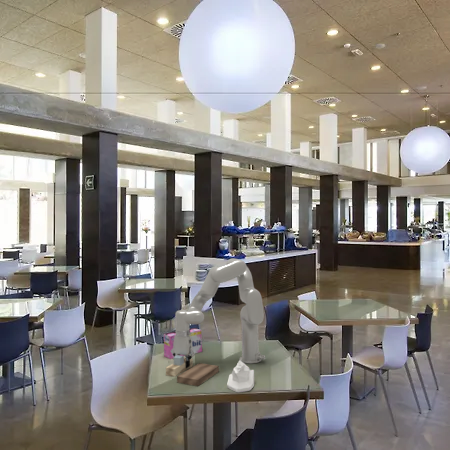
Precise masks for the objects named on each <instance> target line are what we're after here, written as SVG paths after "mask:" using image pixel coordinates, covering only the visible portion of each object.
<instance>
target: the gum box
mask: <svg viewBox="0 0 450 450" xmlns="http://www.w3.org/2000/svg"><path fill="white" fill-rule="evenodd" d="M189 330H190V332H191V335H190V336H191V339H192V347H193V352H194V353H195V354H199V353H202V352H203V337H202V336H203V335H202V333H203V332H202V329H198V328H197V327H193V328H189ZM175 335H176V331H171V332H166V333H163V354H164V355H163V356H164V357H165V358H168V359H169V360H172V359H174V356H173V354H172V353H171V350H172V349H173V344H174V337H175ZM189 354H190V353H189ZM190 355H191V354H190ZM181 356H184V357H185V355H181Z"/></svg>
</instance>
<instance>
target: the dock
mask: <svg viewBox="0 0 450 450" xmlns="http://www.w3.org/2000/svg"><path fill="white" fill-rule="evenodd" d="M219 372H220V367H219V365H215V364H207V363H202V362H199V363H196V364H195V365H193V366H192V367H190V368H188V369H187V370H185V371H183V372H182V373H180V374H178V375H177V376H176V383H178V384H184V385H191V386H195V387H199V386H201V385H202V384H203V383H205V382H206V381H207V380H210V378H212V377H213V376H215V375H216V374H218V373H219Z"/></svg>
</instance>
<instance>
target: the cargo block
mask: <svg viewBox="0 0 450 450" xmlns="http://www.w3.org/2000/svg"><path fill="white" fill-rule="evenodd" d="M184 358H185V356H181V355H177V356H175V357H174V358H173V363H174V365H179V366H180V365H182V364H184Z"/></svg>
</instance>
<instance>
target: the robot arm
mask: <svg viewBox="0 0 450 450" xmlns="http://www.w3.org/2000/svg"><path fill="white" fill-rule="evenodd" d="M235 278H236V280H237V285H238V290H239V291H238V293H239V299H240V301H241V302H242V303H244V304H245V305H244V306H242V308H241V310H240V312H239V313H240V315H239V317H240V321H241V356H240V357H239V361H240V360H241V361H242V362H243V363H244V364H257V363H260V362H262V360H264V361H265V360H266V355H264V354H261V351H260V350H259V348H260V347H259V325H261V324H262V323H263V321H264V318H265V314H264V312H265V311H264V306H263V305H264V303H263V297H262V295H261V292H260V291H259V290H258V289H256V288H255V286H254V281H253V276H252V272H251V271H250V268H249V266H247V264H246V262H245V261H244V260H242V259H238V258H235V257H234V258H233V257H232V258H230V259H228V260H227V261H226V263H225V265H222V266H218V265H215V266H212V267H211V268H210V269H209V271H208V273H207V275H206V277H205V278H204V281H203V283H202V285H201V287H200V289H199V291H198V292H197V294H196V295H195V296H194V297H193V299H192V301H191V303H190V305H189V307H188V309H187V310H186V309H180V310H177V311H175V314H174V315H175V332H176V335H175V337H174V344H173V349H172V350H171V353H172V354H173V356H174V357H175V356H177V355H185V356H184V358H186V361H185V363H186V368H188V367H189V366H190V359H193V357H194V356H195V355H196V353H194V352H193V347H192V339H191V336H190V335H191V332H190V330H189V329H190V325H200V324H201V323H203V322H204V321H205V315H204V313H203V312H202V311H203V308H204V306H206V303H207V302H208V301H210V300H211V299H212V298H214V297H215V296H216V295H215V294H216V293H217V291H218V289H219V286H220V285H221V284H223V283H227V282H229V281H231V280H233V279H235ZM189 353H190V354H189ZM188 369H189V368H188Z"/></svg>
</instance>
